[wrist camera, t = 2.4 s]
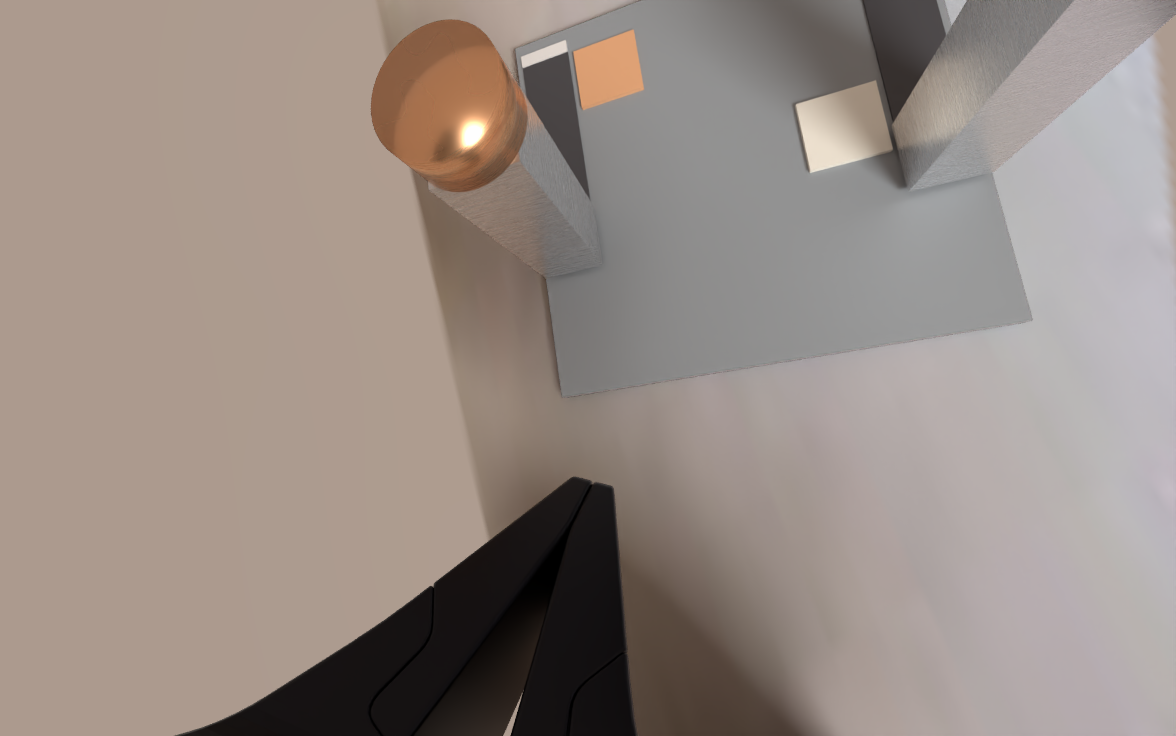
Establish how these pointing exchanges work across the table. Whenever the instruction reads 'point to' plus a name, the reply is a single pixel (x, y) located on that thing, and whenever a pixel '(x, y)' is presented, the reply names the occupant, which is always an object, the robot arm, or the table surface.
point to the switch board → (757, 190)
